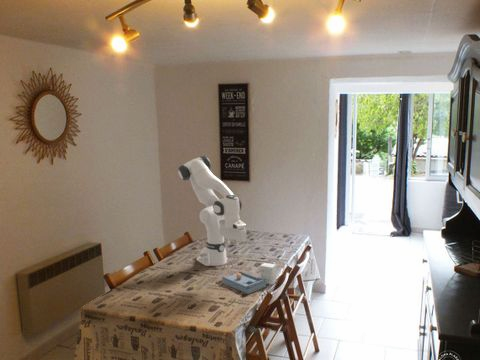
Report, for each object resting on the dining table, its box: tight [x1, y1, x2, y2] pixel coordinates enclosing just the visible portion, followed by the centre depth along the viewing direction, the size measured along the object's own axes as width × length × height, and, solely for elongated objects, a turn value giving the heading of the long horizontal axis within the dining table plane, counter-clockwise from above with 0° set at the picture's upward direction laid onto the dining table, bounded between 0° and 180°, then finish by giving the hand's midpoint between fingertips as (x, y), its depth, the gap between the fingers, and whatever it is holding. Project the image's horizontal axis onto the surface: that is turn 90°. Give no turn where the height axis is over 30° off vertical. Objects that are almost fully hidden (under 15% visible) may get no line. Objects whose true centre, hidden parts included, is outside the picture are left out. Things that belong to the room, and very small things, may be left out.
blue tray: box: [221, 270, 267, 294], centre depth 243 cm, size 22×14×4 cm, turn 42°
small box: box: [259, 262, 278, 286], centre depth 246 cm, size 8×6×10 cm
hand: (232, 246), depth 247 cm, fingers open, 6 cm apart
